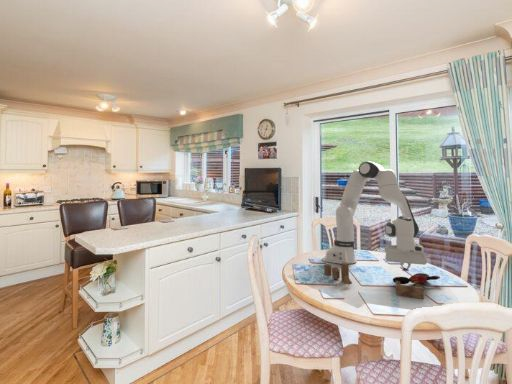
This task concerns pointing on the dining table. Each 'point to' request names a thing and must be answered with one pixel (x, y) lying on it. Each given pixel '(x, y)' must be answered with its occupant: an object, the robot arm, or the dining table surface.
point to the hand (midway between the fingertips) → (405, 270)
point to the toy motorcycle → (415, 278)
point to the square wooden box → (409, 290)
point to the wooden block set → (338, 272)
